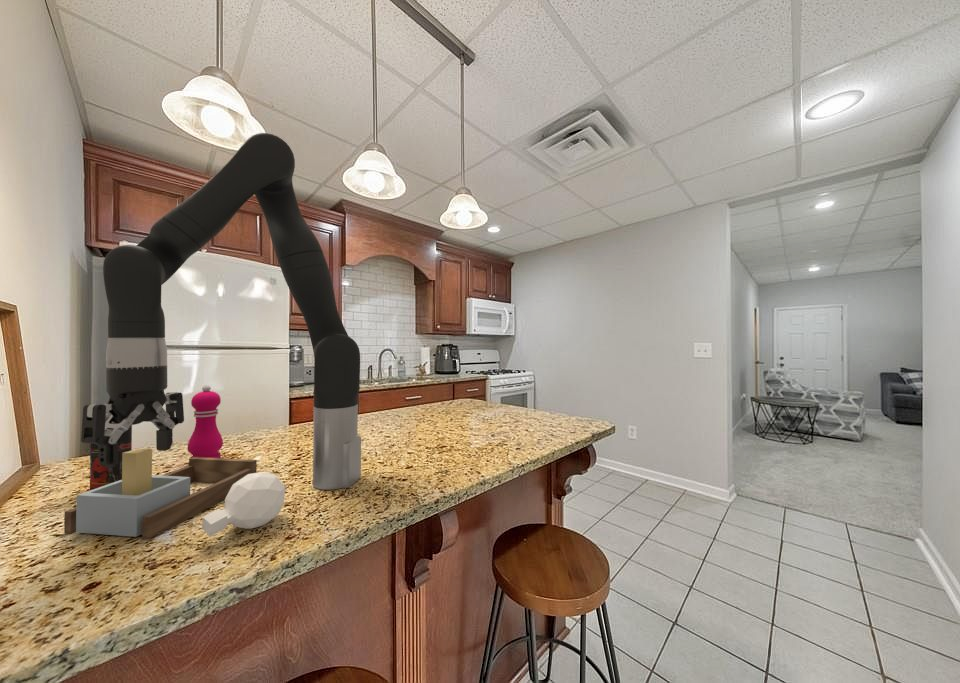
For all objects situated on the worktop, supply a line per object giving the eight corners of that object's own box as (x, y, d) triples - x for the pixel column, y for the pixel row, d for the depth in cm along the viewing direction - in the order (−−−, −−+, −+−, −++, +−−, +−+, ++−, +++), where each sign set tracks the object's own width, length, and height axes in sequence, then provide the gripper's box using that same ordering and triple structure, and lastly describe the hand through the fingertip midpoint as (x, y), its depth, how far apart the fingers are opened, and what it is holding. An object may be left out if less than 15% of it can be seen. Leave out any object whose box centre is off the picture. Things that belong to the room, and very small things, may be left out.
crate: (189, 509, 64) (190, 444, 64) (136, 536, 55) (137, 461, 55) (136, 506, 65) (137, 442, 65) (75, 532, 56) (77, 458, 56)
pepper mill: (229, 458, 93) (230, 383, 93) (205, 467, 86) (206, 387, 86) (205, 457, 93) (206, 383, 94) (179, 466, 86) (180, 386, 86)
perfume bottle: (264, 495, 66) (190, 534, 55) (268, 454, 64) (191, 486, 53) (294, 518, 63) (221, 564, 52) (299, 476, 60) (224, 515, 50)
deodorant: (137, 487, 74) (138, 417, 74) (99, 498, 68) (100, 423, 68) (121, 483, 76) (121, 415, 76) (82, 494, 70) (83, 420, 70)
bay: (256, 482, 77) (256, 459, 77) (148, 539, 54) (149, 507, 54) (193, 479, 78) (194, 457, 78) (64, 533, 56) (64, 502, 56)
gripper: (109, 367, 52) (110, 474, 52) (195, 361, 66) (196, 445, 66) (65, 367, 53) (66, 472, 53) (160, 361, 67) (161, 445, 67)
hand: (138, 457), depth 60 cm, fingers open, 8 cm apart
